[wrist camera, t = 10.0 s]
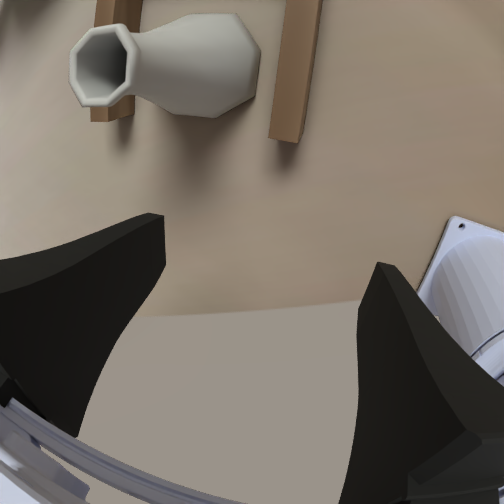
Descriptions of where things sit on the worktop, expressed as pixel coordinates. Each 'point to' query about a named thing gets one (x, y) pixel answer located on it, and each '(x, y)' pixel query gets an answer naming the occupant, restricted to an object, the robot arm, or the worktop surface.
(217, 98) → the flask
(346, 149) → the worktop surface
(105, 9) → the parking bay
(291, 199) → the worktop surface
